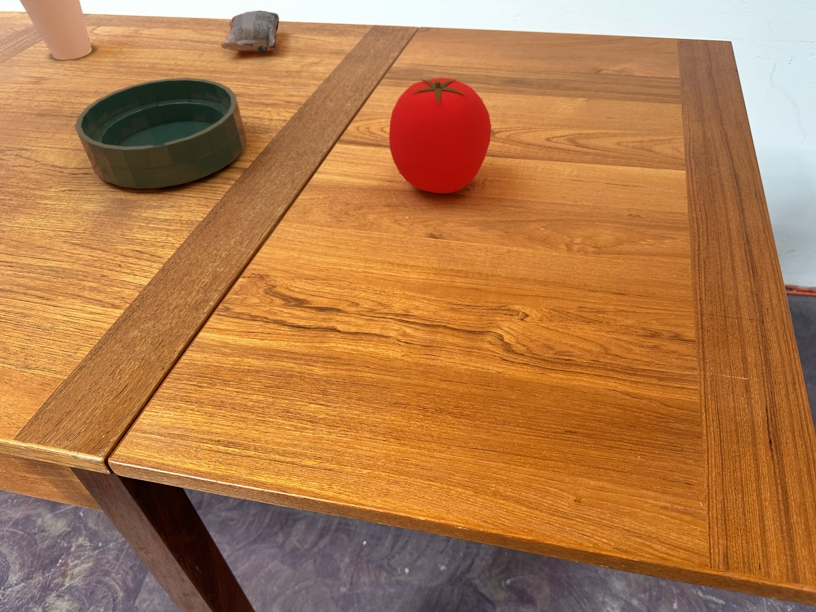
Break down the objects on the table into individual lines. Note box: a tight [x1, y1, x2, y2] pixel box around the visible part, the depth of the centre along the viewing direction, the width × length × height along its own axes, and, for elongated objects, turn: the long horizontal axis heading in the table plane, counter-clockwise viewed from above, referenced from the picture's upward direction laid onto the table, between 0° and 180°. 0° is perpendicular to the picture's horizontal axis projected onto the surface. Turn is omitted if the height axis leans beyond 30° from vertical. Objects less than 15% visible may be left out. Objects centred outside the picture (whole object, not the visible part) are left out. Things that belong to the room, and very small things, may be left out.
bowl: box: [74, 77, 247, 189], centre depth 85 cm, size 19×19×6 cm
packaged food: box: [220, 10, 280, 52], centre depth 112 cm, size 9×12×5 cm
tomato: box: [388, 77, 492, 194], centre depth 76 cm, size 12×12×13 cm
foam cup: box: [19, 0, 93, 61], centre depth 109 cm, size 10×9×13 cm
